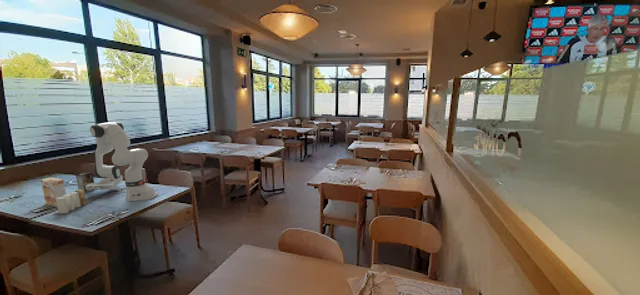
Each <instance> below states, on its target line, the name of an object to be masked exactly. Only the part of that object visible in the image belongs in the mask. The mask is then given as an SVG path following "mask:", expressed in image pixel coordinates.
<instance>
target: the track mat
mask: <svg viewBox="0 0 640 295" xmlns="http://www.w3.org/2000/svg"><path fill="white" fill-rule="evenodd" d="M102 198H103V196H90V197H87V198H85V199H86V204H84V205H81V206H80V207H75V209H74V210H69V212H68V213H59V212H55V213H53V214H52V216H68V215H70V214H71V213H74V212H75V211H78V210H79V209H82V208H84V207H86V206H88V205H89V204H92V203H94V202H96V201H98V200H101V199H102Z"/></svg>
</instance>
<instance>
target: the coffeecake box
mask: <svg viewBox="0 0 640 295" xmlns="http://www.w3.org/2000/svg"><path fill="white" fill-rule="evenodd" d="M40 182H41V187H42V193H43V197H44V202H45V205H49V206H54V207H57V202H56V198H59V197H63V195H67V191H66V187H65V182H64V179H63V178H57V177H47V178H43V179H40Z"/></svg>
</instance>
